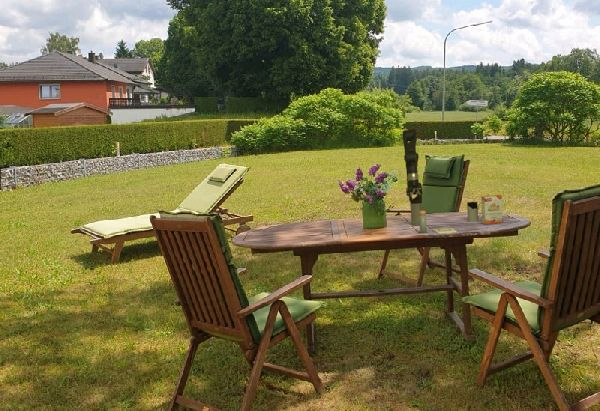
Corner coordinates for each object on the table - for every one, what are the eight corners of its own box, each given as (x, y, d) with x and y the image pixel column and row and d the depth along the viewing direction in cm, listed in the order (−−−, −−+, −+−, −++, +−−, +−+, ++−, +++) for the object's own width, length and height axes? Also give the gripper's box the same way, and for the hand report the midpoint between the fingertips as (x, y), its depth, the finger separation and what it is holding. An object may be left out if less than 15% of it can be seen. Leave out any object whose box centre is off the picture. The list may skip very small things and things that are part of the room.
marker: (419, 232, 427) (418, 210, 425) (426, 232, 427) (424, 210, 425) (421, 233, 422) (419, 211, 420) (427, 233, 422) (426, 210, 420)
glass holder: (465, 221, 463) (464, 202, 462) (481, 219, 467) (480, 200, 465) (471, 222, 455) (470, 203, 453) (487, 220, 458) (486, 201, 457)
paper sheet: (432, 230, 432) (432, 228, 432) (450, 229, 432) (450, 227, 432) (438, 233, 416) (437, 232, 416) (456, 232, 416) (456, 230, 416)
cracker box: (485, 224, 440) (484, 196, 438) (481, 223, 446) (480, 196, 444) (503, 222, 442) (501, 195, 440) (498, 222, 448) (497, 194, 446)
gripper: (416, 178, 448) (418, 200, 449) (402, 180, 441) (404, 202, 441) (423, 178, 442) (425, 199, 443) (410, 179, 434) (411, 201, 435)
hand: (415, 200), depth 442 cm, fingers open, 8 cm apart
